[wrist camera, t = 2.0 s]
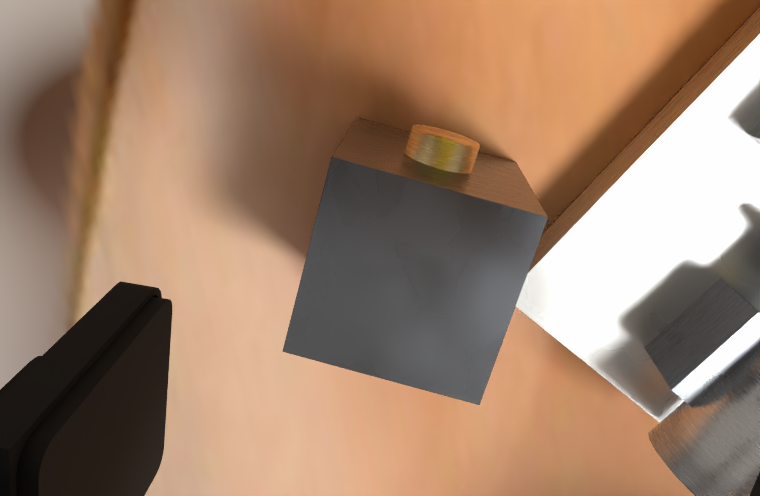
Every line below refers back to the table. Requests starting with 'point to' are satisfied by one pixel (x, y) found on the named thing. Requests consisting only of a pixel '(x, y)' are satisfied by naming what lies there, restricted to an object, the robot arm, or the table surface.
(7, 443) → the robot arm
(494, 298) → the block
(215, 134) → the table surface
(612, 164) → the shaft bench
